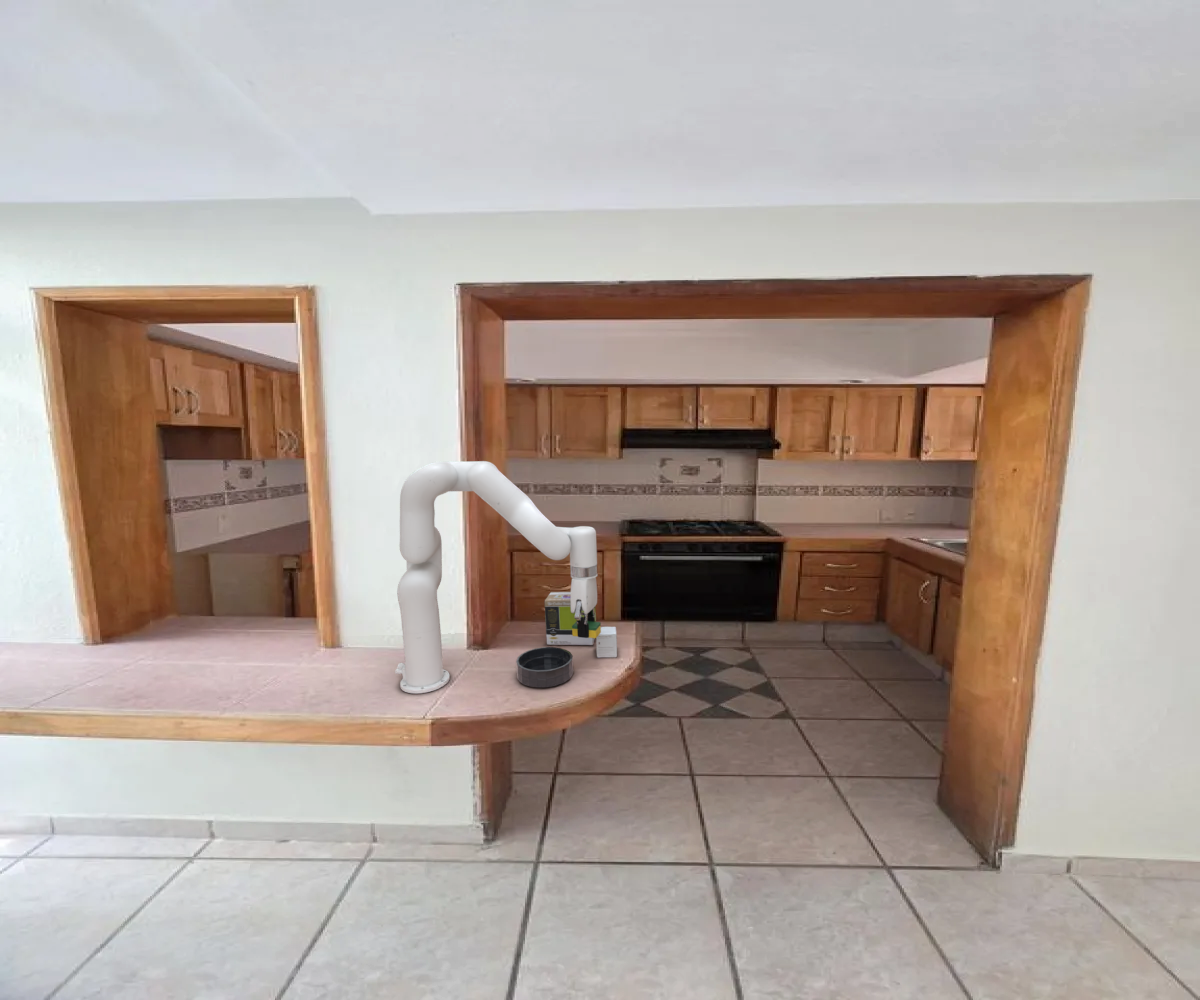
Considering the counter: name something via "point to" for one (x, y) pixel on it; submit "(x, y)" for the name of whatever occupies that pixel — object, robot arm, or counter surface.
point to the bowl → (544, 667)
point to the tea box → (562, 621)
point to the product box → (607, 642)
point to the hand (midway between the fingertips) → (586, 632)
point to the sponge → (593, 629)
